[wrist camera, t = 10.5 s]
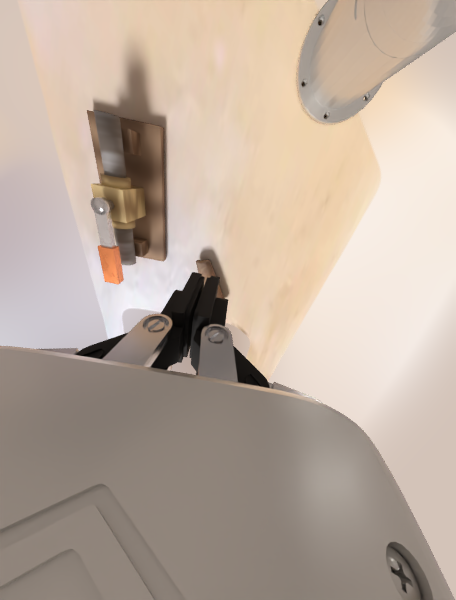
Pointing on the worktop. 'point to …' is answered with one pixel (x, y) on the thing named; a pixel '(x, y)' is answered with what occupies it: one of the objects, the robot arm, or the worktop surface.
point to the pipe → (207, 273)
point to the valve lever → (107, 241)
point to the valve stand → (131, 183)
